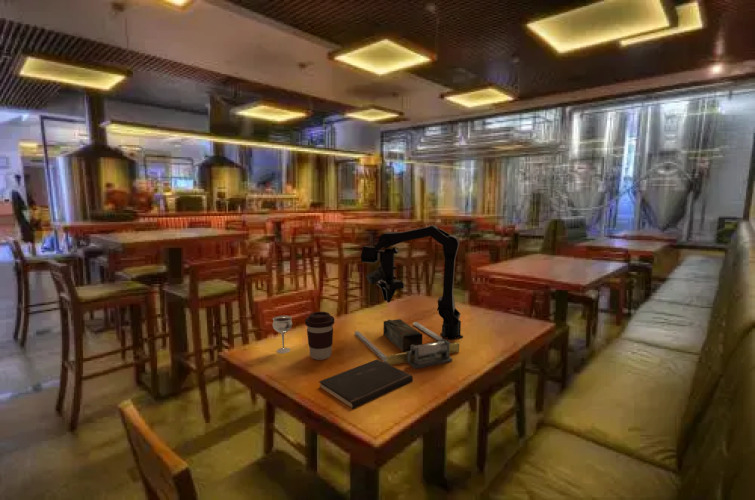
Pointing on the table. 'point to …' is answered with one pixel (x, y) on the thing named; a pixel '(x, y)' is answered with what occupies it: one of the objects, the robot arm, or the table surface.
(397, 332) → the beverage carton
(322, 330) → the coffee cup
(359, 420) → the table surface
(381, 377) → the hardcover book
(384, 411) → the table surface
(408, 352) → the winch
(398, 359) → the bay
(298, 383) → the table surface
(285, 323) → the wineglass
